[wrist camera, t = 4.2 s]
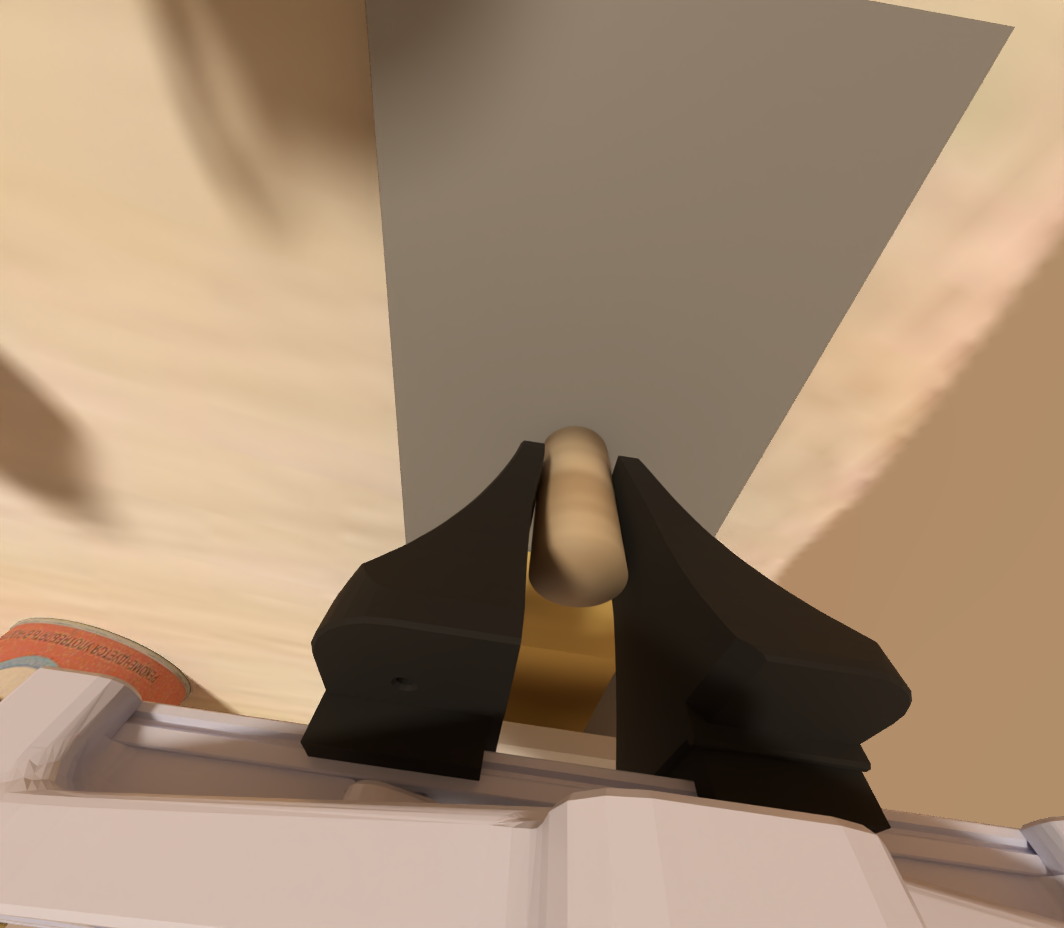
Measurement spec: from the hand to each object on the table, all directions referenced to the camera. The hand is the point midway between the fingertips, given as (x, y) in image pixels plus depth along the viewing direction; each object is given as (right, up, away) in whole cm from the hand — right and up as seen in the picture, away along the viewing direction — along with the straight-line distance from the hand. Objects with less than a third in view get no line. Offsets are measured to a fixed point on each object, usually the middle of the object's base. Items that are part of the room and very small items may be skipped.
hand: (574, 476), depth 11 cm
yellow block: (-1, -3, +4) cm, 5 cm away
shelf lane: (0, 0, +3) cm, 3 cm away
